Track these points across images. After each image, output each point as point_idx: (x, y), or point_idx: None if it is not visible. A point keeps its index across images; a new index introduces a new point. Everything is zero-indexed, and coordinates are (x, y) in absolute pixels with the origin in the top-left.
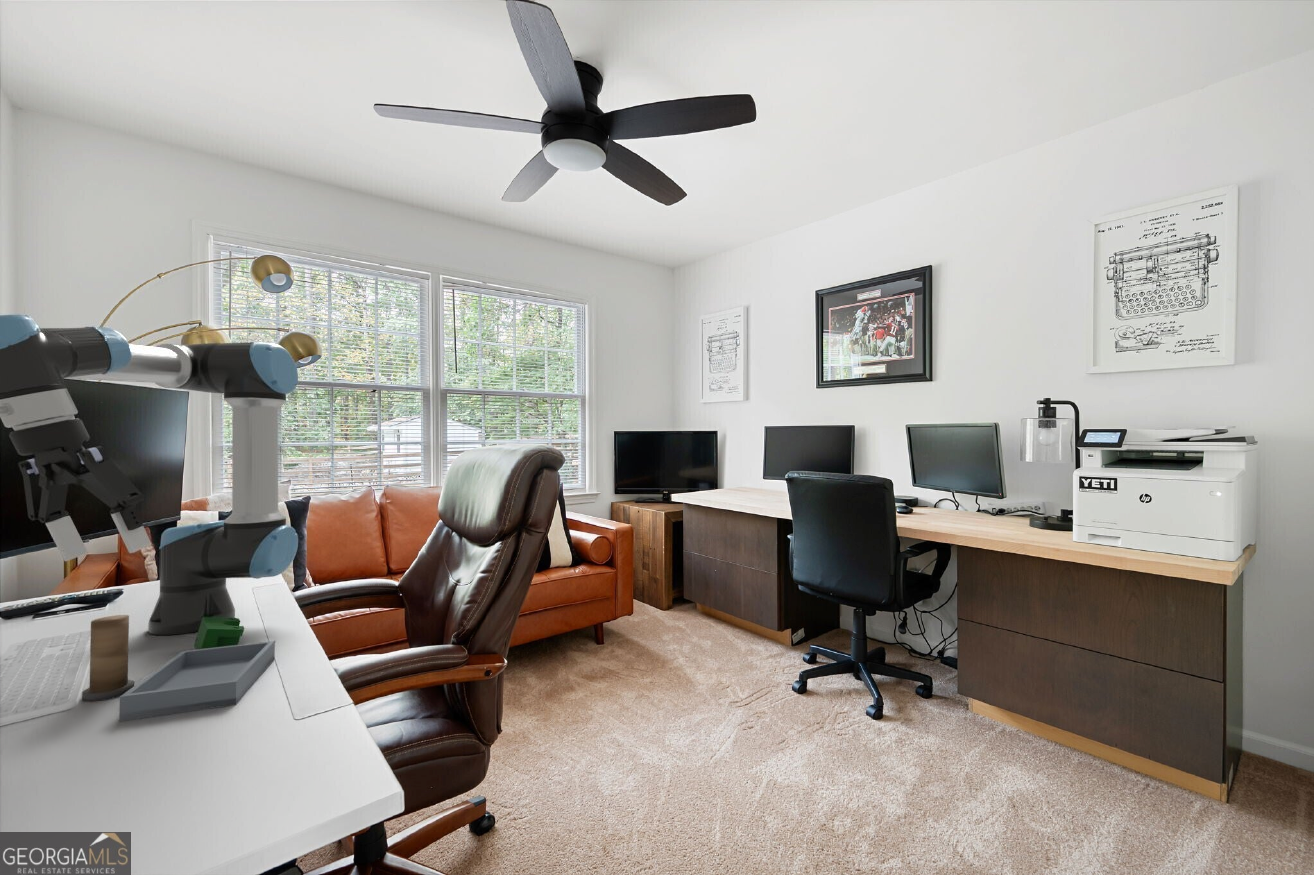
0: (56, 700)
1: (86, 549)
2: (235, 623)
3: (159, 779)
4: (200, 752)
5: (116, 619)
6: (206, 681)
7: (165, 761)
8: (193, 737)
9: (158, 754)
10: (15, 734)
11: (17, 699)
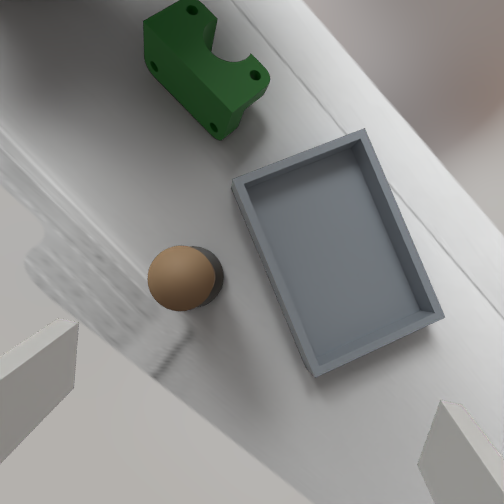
0: (134, 302)
1: (69, 328)
2: (210, 25)
3: None
4: None
5: (202, 284)
6: (335, 255)
7: None
8: None
9: None
10: (197, 408)
11: (62, 300)
